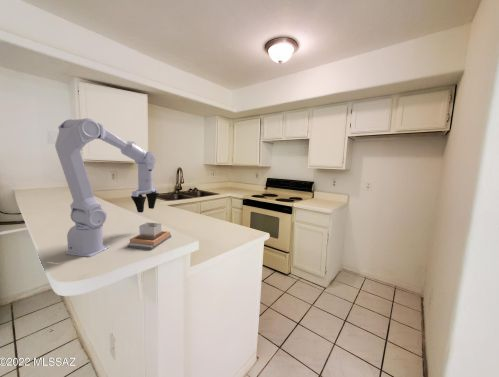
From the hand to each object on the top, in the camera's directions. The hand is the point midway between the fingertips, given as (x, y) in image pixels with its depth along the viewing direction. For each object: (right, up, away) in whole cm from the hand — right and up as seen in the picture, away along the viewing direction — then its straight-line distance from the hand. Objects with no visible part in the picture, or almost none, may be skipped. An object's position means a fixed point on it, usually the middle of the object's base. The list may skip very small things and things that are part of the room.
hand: (146, 210), depth 91 cm
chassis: (+7, -11, -9) cm, 16 cm away
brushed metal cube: (+7, -11, -9) cm, 16 cm away
